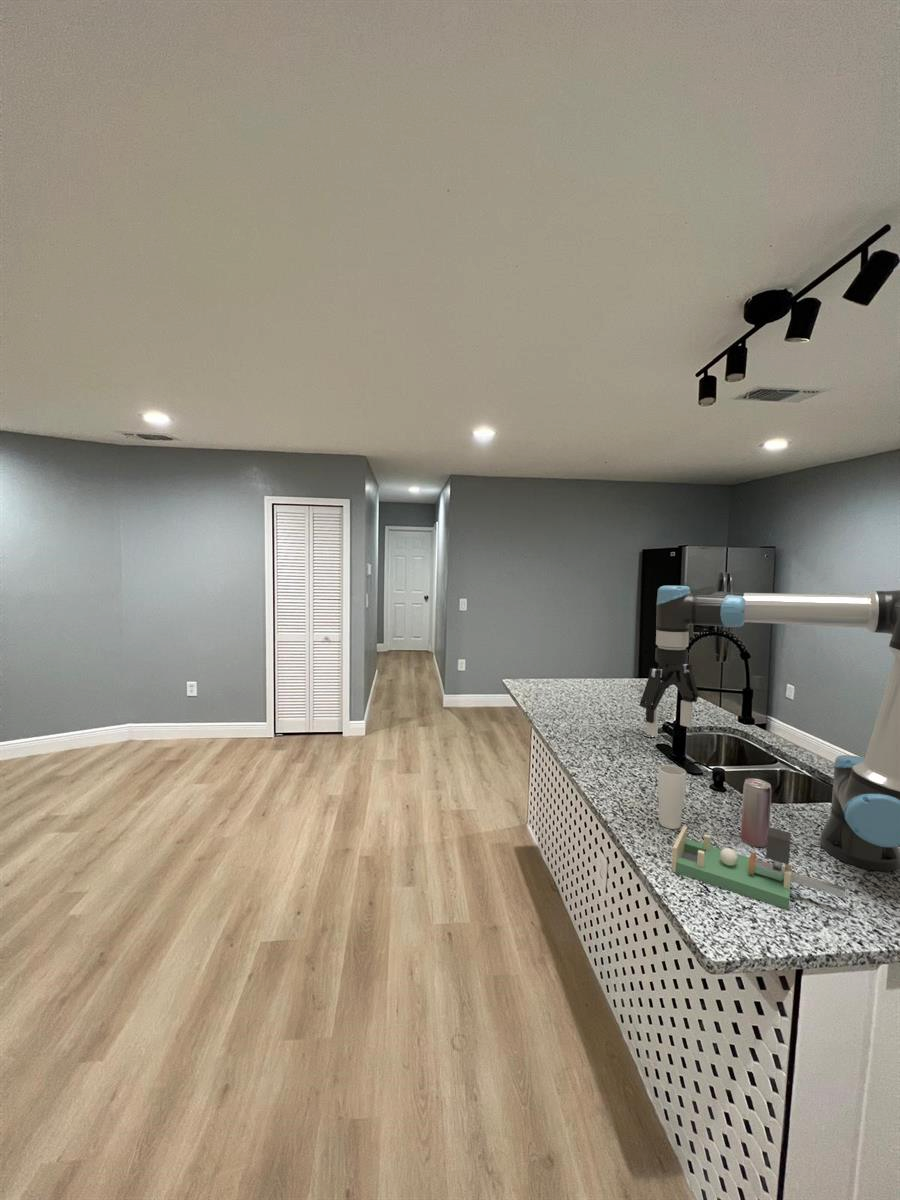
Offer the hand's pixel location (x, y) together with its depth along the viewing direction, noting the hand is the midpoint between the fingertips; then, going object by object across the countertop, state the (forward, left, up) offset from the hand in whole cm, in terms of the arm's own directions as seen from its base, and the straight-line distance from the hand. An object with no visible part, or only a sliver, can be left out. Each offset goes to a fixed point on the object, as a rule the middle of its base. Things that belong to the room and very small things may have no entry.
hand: (669, 730), depth 132 cm
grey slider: (-28, +11, -23) cm, 38 cm away
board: (-16, +11, -26) cm, 33 cm away
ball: (-16, +11, -22) cm, 30 cm away
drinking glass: (0, -4, -27) cm, 27 cm away
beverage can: (-19, -8, -27) cm, 34 cm away
